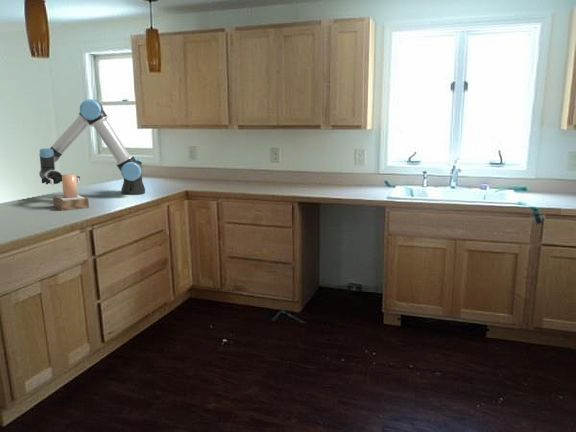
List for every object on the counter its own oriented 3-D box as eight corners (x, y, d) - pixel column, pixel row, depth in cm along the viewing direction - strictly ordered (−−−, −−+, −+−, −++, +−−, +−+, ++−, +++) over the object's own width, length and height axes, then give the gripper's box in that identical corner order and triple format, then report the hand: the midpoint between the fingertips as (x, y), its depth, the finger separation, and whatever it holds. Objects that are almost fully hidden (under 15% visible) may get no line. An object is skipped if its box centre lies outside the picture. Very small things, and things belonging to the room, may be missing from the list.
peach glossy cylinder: (75, 195, 257) (73, 174, 254) (79, 197, 252) (78, 175, 249) (61, 196, 252) (60, 174, 250) (65, 198, 247) (64, 176, 245)
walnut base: (79, 203, 263) (79, 194, 262) (88, 207, 253) (88, 197, 252) (53, 206, 253) (52, 196, 252) (61, 210, 243) (61, 200, 242)
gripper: (76, 181, 278) (89, 186, 263) (30, 184, 262) (41, 190, 247) (75, 169, 277) (88, 173, 262) (29, 171, 260) (40, 176, 245)
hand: (66, 181), depth 254 cm, fingers open, 13 cm apart
